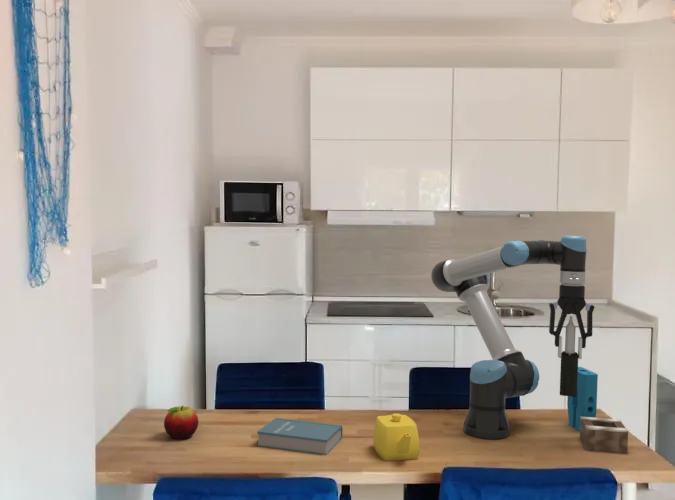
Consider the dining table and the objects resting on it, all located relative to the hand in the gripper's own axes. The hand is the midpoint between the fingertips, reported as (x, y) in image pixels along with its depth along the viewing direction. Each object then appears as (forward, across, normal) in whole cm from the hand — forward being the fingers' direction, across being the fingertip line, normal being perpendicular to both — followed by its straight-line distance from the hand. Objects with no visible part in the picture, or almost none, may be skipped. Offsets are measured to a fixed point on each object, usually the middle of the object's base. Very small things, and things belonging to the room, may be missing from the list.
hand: (569, 357), depth 206 cm
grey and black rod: (+12, 0, 0) cm, 12 cm away
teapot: (+28, -52, -22) cm, 63 cm away
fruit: (+28, -121, -24) cm, 126 cm away
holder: (+28, +11, +2) cm, 30 cm away
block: (+28, +7, +19) cm, 35 cm away
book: (+29, -82, -20) cm, 89 cm away
